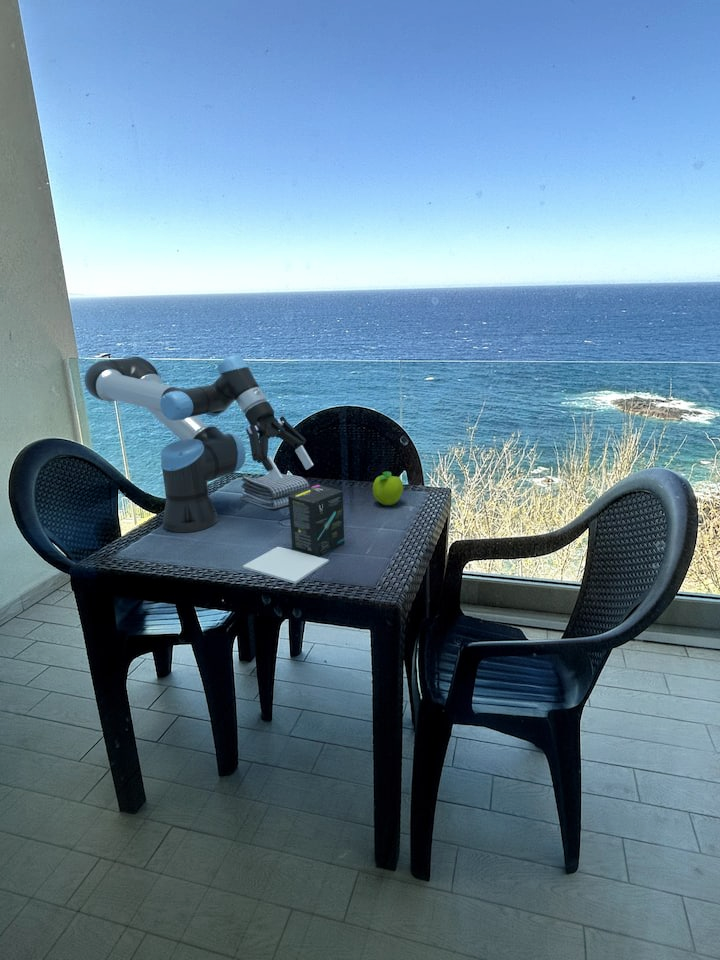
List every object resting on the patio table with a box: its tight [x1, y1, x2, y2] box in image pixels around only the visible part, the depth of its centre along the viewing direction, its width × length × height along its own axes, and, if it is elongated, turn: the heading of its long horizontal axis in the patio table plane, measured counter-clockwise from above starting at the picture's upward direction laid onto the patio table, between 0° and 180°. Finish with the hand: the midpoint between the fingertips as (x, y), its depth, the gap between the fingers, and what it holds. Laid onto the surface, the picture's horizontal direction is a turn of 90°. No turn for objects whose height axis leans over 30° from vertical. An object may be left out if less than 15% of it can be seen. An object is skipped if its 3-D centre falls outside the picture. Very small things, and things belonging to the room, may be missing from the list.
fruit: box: [372, 471, 404, 506], centre depth 179 cm, size 9×9×10 cm
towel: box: [239, 473, 310, 510], centre depth 186 cm, size 15×18×8 cm
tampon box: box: [288, 484, 345, 557], centre depth 149 cm, size 11×9×15 cm
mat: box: [242, 546, 330, 585], centre depth 141 cm, size 16×13×1 cm
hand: (295, 473), depth 160 cm, fingers open, 13 cm apart
